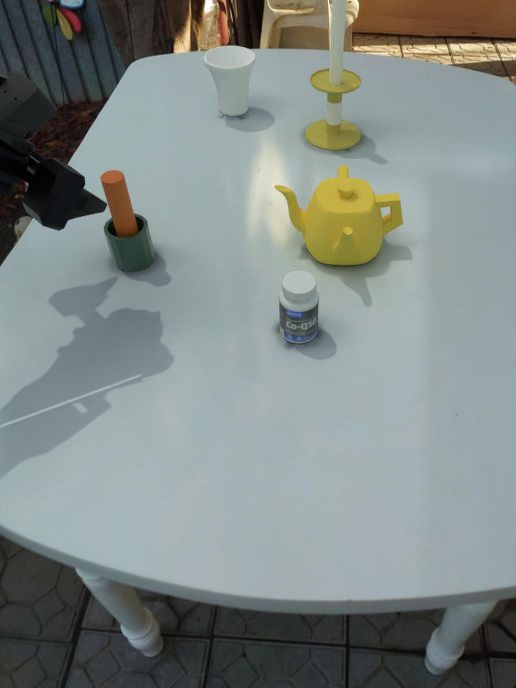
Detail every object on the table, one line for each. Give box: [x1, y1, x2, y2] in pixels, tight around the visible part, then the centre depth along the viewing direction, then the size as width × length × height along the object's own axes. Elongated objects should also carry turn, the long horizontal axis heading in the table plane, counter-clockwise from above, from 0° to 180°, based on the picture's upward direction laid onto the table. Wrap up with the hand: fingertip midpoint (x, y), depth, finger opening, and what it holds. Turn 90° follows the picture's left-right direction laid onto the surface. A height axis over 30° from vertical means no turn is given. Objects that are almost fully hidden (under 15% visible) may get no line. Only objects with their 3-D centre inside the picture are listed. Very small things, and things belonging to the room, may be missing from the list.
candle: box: [304, 0, 362, 151], centre depth 93 cm, size 10×10×27 cm
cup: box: [203, 45, 257, 117], centre depth 105 cm, size 9×9×10 cm
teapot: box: [274, 164, 404, 266], centre depth 81 cm, size 14×13×10 cm
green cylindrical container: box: [103, 212, 156, 272], centre depth 79 cm, size 6×6×6 cm
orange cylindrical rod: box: [99, 169, 139, 237], centre depth 76 cm, size 3×3×12 cm
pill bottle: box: [278, 270, 320, 344], centre depth 70 cm, size 5×5×8 cm
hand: (83, 190), depth 70 cm, fingers open, 9 cm apart
